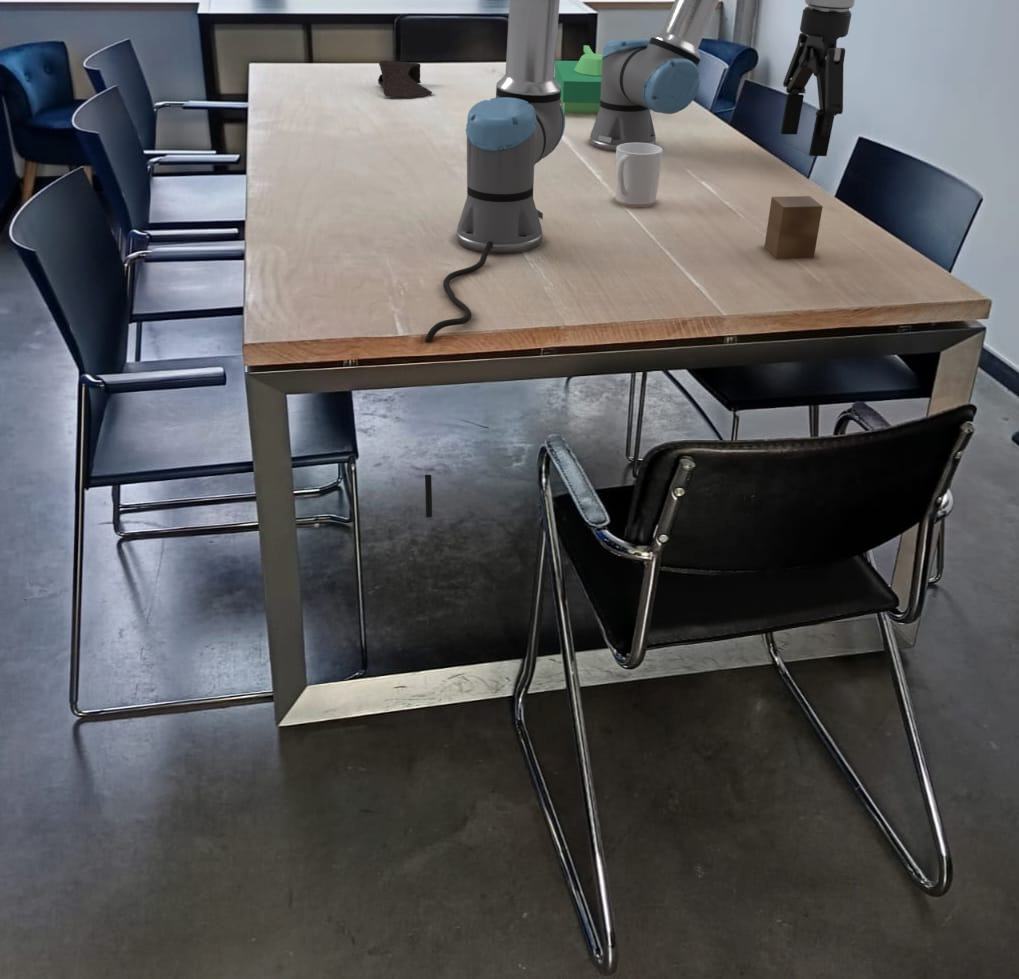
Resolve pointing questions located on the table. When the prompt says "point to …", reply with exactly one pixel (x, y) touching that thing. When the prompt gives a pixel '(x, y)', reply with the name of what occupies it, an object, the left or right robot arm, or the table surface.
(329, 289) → the table surface
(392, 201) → the table surface
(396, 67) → the axe head
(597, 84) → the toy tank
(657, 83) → the right robot arm
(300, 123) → the table surface
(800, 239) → the brick
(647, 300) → the table surface
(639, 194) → the mug
